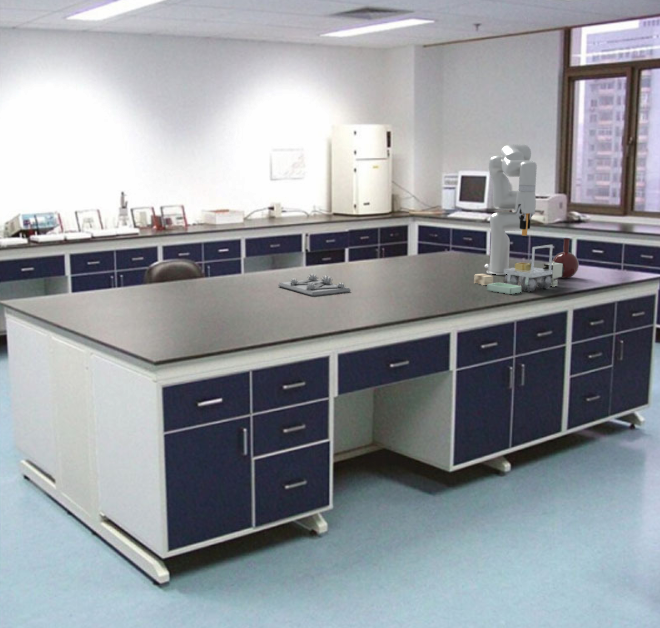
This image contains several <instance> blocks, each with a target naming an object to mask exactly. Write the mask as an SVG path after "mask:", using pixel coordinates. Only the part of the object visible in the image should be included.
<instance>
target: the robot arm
mask: <svg viewBox="0 0 660 628" xmlns="http://www.w3.org/2000/svg"><path fill="white" fill-rule="evenodd" d="M531 157H532V150H531V148H530V146H528V145H527V144H506V145H504V146H503V147H502V148H501V150H500V155H494V156H491V157H490V158H489V162H488V170H489V175H490V177H491V181H492V205H493V208H494V209H496V210H513V211H498V212H497V211H496V212H494V213H492V214H491V215H490V218H489V224H490V225H489V226H490V254H489V255H490V257H489V263H485V264H484V266H483V267H484V268H485V269H487V270H486V273H485V274H487V275H492V274H496V275H495V276H506V274H504V269H508V268H510V267H509V264H510V262H509V261H510V245H511V244H510V243H511V241H510V237H509V236H508V234H507V233H506V232H519V231H522V229H526V221H525V220H526V214H528V213H529V214H528V228H527V230H530V229H531V220H532V218H533V216H534V215H535V214H536V202H537V199H536V185H537V184H536V183H537V168H538V167H537V166H538V165H537V163H536V162H535V161H532V160H531ZM508 177H510V178H513V177H514V178H515V177H517V178H519V179H518V190H511V189H510V180H509V178H508ZM522 213H523V214H522ZM523 215H524V216H523Z"/></svg>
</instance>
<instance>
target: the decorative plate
mask: <svg viewBox="0 0 660 628" xmlns="http://www.w3.org/2000/svg"><path fill="white" fill-rule="evenodd" d="M306 278H307V279H301V280H298V278H294V277H293V278H290V280H289V281H283V282H279V283H278V284H277V285H278V287H279V288H282V289H286V290H289V291H293V292H296V293H299V294H303V295H307V296H310V297H320V296H321V297H322V296H329V295H337V294H345V293H350V292H351V291H352V290H351V288H349V287H346V286H345V282H342V281H341V282H337V284H335V283H334V282H332V281H333V280H334V279H333V278H332V277H331V275H328V274H326V275H322V277H320V279H319V276H318V275H317V274H315V273H311V274H309V276H307V277H306Z"/></svg>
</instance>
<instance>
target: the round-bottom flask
mask: <svg viewBox="0 0 660 628" xmlns="http://www.w3.org/2000/svg"><path fill="white" fill-rule="evenodd" d="M570 240H571V238H568V237H565V238H564V237H563V251H562V252H558V253H556V255H555V256H554V257H552V263H553V261H554V262H555V263H562V264H563V267H564V272H563V276H562V277H559V278H560V279H569V278H572V277H573V276H575V275H576V274H577V272H578V270H579V264H580V263H579V260H578V258H577V256H576V255H575V254H573V253H572V252H569V250H570V249H569V248H570Z"/></svg>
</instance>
